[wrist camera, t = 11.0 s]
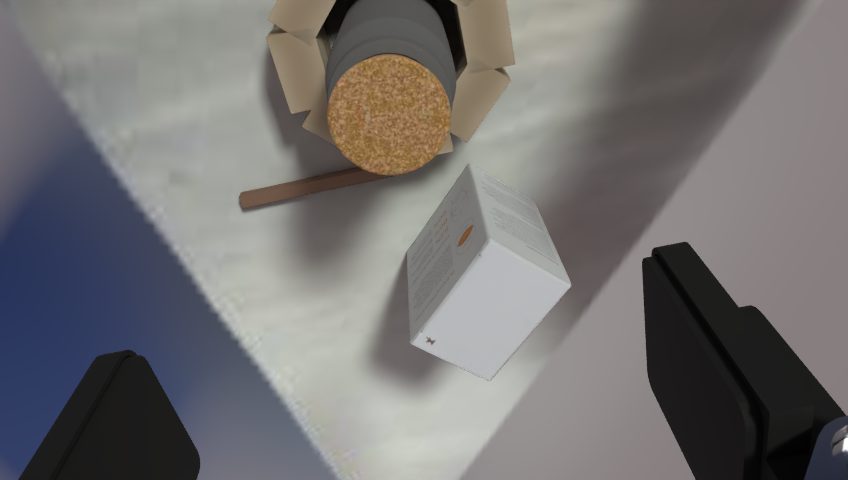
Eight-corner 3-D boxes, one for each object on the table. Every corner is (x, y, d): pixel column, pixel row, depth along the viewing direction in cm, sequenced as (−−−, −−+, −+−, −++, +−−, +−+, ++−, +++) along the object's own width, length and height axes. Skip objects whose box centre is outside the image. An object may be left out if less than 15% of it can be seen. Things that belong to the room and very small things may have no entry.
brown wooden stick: (389, 160, 41) (390, 164, 40) (393, 171, 41) (392, 176, 41) (241, 192, 42) (238, 197, 41) (245, 203, 42) (243, 208, 42)
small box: (470, 285, 46) (488, 386, 37) (404, 251, 45) (406, 347, 35) (537, 200, 43) (576, 287, 34) (469, 159, 41) (490, 239, 32)
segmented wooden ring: (481, -111, 34) (490, -109, 30) (513, 113, 40) (525, 135, 36) (253, -56, 35) (238, -48, 31) (320, 155, 41) (313, 181, 37)
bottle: (431, 92, 39) (447, 200, 26) (336, 73, 38) (302, 175, 25) (453, -7, 36) (483, 58, 23) (350, -30, 35) (322, 24, 22)
